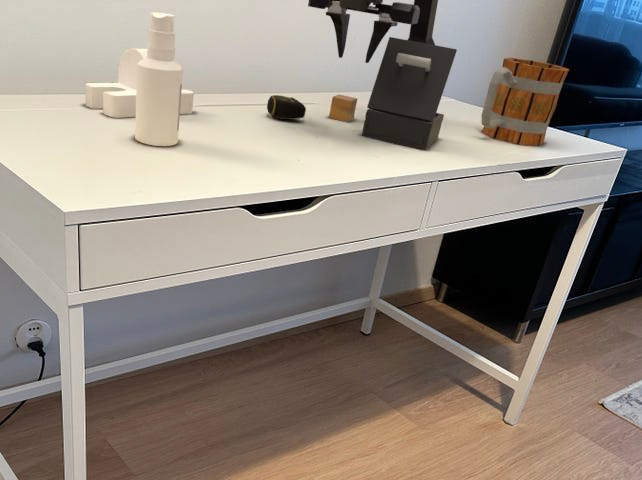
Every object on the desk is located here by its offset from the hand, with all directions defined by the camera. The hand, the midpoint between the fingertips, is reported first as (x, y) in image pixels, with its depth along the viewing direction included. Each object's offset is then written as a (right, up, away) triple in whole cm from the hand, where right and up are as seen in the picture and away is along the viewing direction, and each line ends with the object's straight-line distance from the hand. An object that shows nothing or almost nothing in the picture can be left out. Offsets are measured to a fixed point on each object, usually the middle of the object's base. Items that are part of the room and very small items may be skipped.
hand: (353, 60), depth 119 cm
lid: (+11, -2, +3) cm, 12 cm away
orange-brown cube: (0, -4, +19) cm, 19 cm away
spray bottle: (-33, -20, -14) cm, 41 cm away
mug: (+36, -6, +25) cm, 44 cm away
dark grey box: (+11, -10, +11) cm, 19 cm away
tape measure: (-12, -6, +13) cm, 18 cm away
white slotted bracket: (-39, -8, +3) cm, 40 cm away
